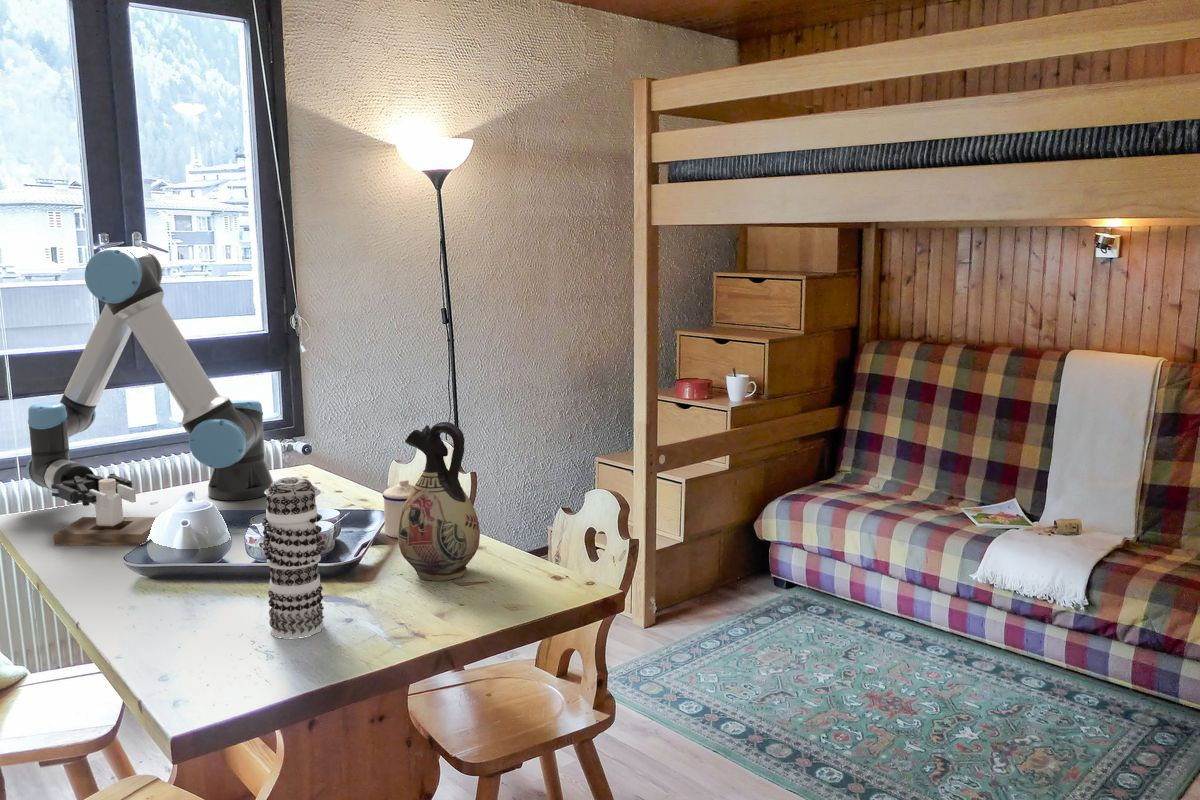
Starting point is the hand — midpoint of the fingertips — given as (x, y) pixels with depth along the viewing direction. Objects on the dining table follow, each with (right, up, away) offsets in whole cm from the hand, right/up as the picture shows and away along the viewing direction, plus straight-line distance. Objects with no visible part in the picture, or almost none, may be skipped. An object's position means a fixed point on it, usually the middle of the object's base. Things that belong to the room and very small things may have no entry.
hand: (119, 498), depth 204 cm
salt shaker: (-4, -6, +4) cm, 9 cm away
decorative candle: (+49, -17, -42) cm, 67 cm away
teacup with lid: (+56, -8, +10) cm, 58 cm away
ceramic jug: (+69, -13, -16) cm, 72 cm away
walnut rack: (-4, -8, +5) cm, 10 cm away
